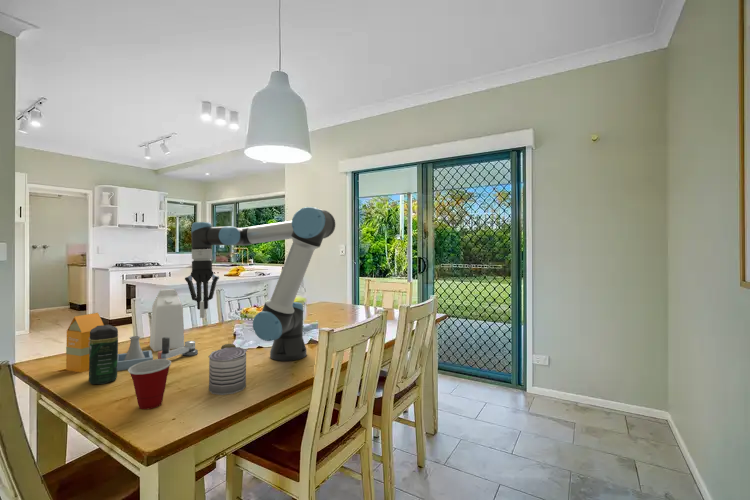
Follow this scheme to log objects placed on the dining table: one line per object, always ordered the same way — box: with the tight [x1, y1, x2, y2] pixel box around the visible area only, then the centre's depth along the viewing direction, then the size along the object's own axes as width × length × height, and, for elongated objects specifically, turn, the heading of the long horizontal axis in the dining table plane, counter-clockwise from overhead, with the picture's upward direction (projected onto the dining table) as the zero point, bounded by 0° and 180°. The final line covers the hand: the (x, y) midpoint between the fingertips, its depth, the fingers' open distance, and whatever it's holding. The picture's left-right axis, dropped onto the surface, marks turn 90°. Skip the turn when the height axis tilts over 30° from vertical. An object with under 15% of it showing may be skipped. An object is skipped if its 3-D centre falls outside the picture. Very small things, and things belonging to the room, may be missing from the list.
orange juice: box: [65, 312, 105, 373], centre depth 138 cm, size 8×9×20 cm
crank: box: [161, 337, 196, 360], centre depth 152 cm, size 15×4×8 cm, turn 161°
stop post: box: [157, 350, 162, 359], centre depth 147 cm, size 2×2×4 cm
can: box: [208, 346, 248, 396], centre depth 121 cm, size 11×11×12 cm
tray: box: [117, 349, 154, 372], centre depth 144 cm, size 12×12×3 cm
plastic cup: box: [127, 358, 172, 410], centre depth 107 cm, size 11×11×12 cm
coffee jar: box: [88, 324, 119, 385], centre depth 126 cm, size 10×8×19 cm
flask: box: [124, 335, 145, 361], centre depth 144 cm, size 7×7×10 cm
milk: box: [149, 288, 185, 352], centre depth 169 cm, size 12×12×26 cm
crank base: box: [181, 348, 199, 357], centre depth 157 cm, size 6×6×2 cm
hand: (202, 317), depth 152 cm, fingers closed
